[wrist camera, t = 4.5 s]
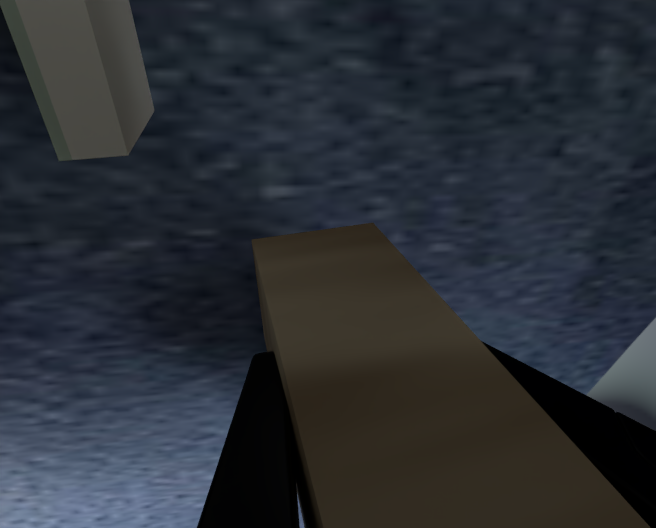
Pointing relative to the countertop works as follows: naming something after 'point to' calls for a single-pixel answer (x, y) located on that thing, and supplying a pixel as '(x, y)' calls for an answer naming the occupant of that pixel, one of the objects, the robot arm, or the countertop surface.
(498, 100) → the countertop surface
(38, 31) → the tile
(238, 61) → the countertop surface
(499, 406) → the stick
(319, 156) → the countertop surface
